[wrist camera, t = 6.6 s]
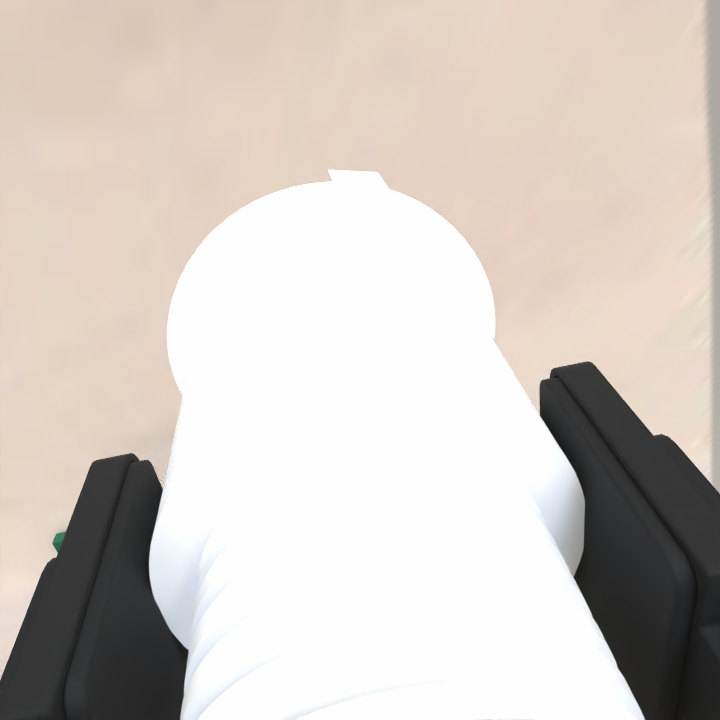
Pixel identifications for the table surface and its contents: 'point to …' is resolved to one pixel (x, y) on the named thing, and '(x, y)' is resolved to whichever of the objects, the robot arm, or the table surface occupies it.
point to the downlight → (365, 481)
